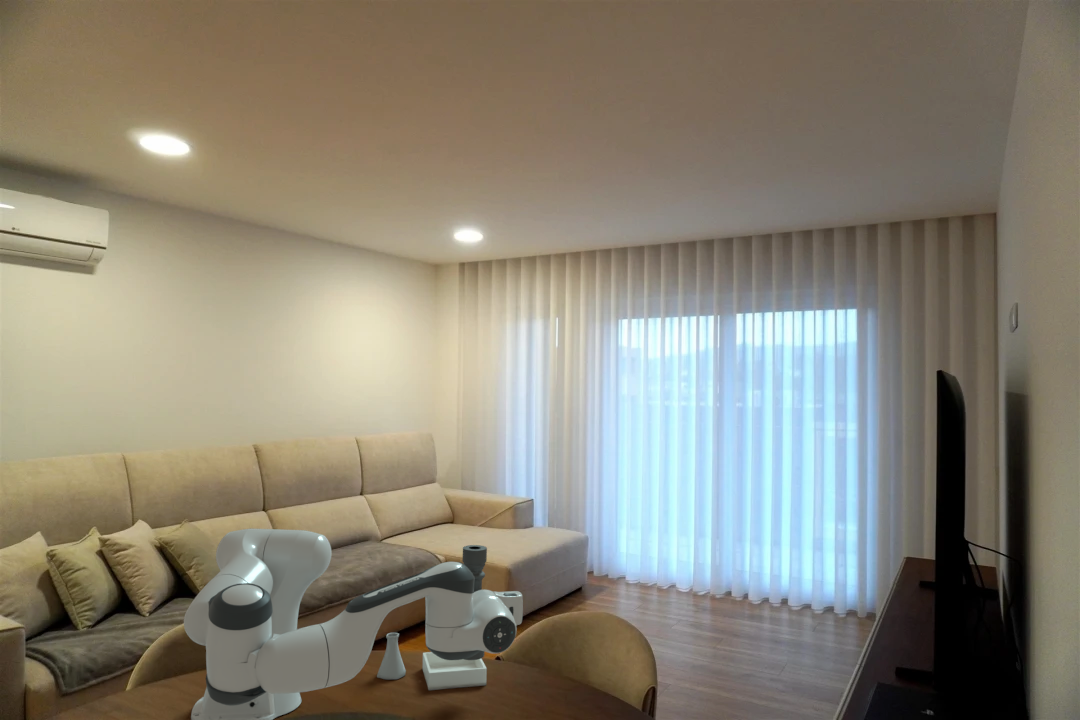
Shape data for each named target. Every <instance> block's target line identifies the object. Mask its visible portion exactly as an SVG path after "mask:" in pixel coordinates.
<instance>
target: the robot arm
mask: <svg viewBox="0 0 1080 720" xmlns="http://www.w3.org/2000/svg"><path fill="white" fill-rule="evenodd" d="M332 553H333V552H332V546H331V543H330V541H329V540H328V538H327V537H326V536H325V534H321V533H318V532H315V531H311V530H306V529H305V530H303V529H283V528H281V529H280V528H279V529H273V528H245V529H244V528H243V529H238V530H233V531H229V532H227V533H226V534H225V535H224V536H223V537H222V538H221V540H220V541H219V543H218V545H217V548H216V553H215V560H216V565H217V567H218V569H219V572H218V573H217V574H216V575H215V576H214V577H213V578H211V579H210V580H209V582H207V583H206V584H205V586H204V587H203V588H202V589H201V590H200V591H199V593H197V595H196V596H195V597H194V599H193V600H192V601H191V603H190V604H189V607H188V608H187V610H186V612H185V613H184V618H183V627H184V631H185V633H186V635H187V636H188V637H189V639H190V640H191V641H192V642H194V643H196V644H198V645H200V646H205V650H206V652H205V661H206V662H205V664H206V666H205V667H206V675H205V684H206V687H205V691H204V694H203V696H202V697H201V698H200V699H198V700H197V701H196V702H195V704H194V705H193V707H192V709H191V715H190V720H274V719H275V718H278V717H280V716H282V715H286V714H288V713H291V712H292V711H294V710H296V709H297V708H298V707H299V706H300V705H301V703H302V697H301V693H306V692H310V691H311V692H312V691H316V690H321V689H326V688H329V687H334V686H337V685H341V684H344V683H345V682H348V681H350V680H352V679H354V678H355V677H356V676H357V675H358V674H359V673H360V672H361V670H362V669H364V666H365V664H366V663H367V661H368V660H369V657H370V655H371V653H372V649H373V646H374V643H375V640H376V636H377V634H378V632H379V629H380V627H381V625H382V623H383V621H384V619H385V618H386V617H387V615H388V614H389V613H391V612H392V611H393V610H394V609H397V608H399V607H402V606H404V605H407V604H411V603H412V602H415V601H417V600H421V599H423V598H425V621H424V622H425V624H424V626H425V631H424V632H425V646H426V648H427V650H429V652H432V653H433V654H435V655H436V656H438V657H440V658H442V659H445V660H461V659H466V658H469V657H472V656H474V655H475V654H477V653H478V652H480V651H485V652H484V653H487V654H500V653H503V652H505V651H507V650H508V649H509V648H510V647H511V646H512V644H513V643H514V641H515V638H516V636H517V626H518V625H519V626H520V625H521V624H522V622H523V613H524V606H523V605H524V602H523V594H522V592H520V591H518V590H513V591H511V590H510V591H493V590H490V589H482V590H478V591H476V592H474V581H475V577H474V575H473V574H472V572H471V571H470V570H469V569H468V568H467V567H466V566H465V565H464V562H460V561H446V562H441V563H439V564H436V565H433V566H431V567H430V568H427V569H425V570H424V571H423V570H422V571H421V572H419V573H416V574H414V575H411V576H408V577H405V578H403V579H400V580H397V581H394V582H391V583H388V584H385V585H383V586H380V587H378V588H375V589H372V590H369V591H367V592H365V593H363V594H360V595H358V596H356V597H354V598H353V599H351V600H350V601H348V603H347V605H346V607H345V609H344V610H343V611H341V613H339V614H338V615H336V616H335V617H334V618H331V619H329V620H328V621H325V622H321V623H318V624H317V623H316V624H312V625H308V626H305V627H304V626H303V627H300V628H298V620H299V619H298V618H299V610H300V604H301V602H302V599H303V597H304V594H305V593H306V591H307V589H308V588H309V587H310V586H311V585H312V583H314V582H315V581H316V580H317V579H318V578H320V577H321V576H322V575H323V574H324V573H325V572H326V571H327V569H328V567H329V566H330V563H331V560H332V555H333V554H332Z"/></svg>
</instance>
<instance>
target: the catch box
mask: <svg viewBox="0 0 1080 720" xmlns="http://www.w3.org/2000/svg"><path fill="white" fill-rule="evenodd" d="M421 670H422V672H423V676H424V679H425V682H426V686H427V690H428V691H435V690H446V689H447V690H448V689H456V688H468V687H469V688H471V687H480V686H487V671H488V668H487V666H486V664H485V663H484V661H483V658H481V659H477V660H464V659H461V660H445V659H442V658H440V657H438V656H436V655H435V654H433V653H432V652H431V651H427V652H422V669H421Z"/></svg>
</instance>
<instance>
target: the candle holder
mask: <svg viewBox="0 0 1080 720" xmlns="http://www.w3.org/2000/svg"><path fill="white" fill-rule="evenodd" d="M487 554H488V548H487V546H485V545H479V544H471V545H470V544H469V545H465V546H462V560H461V561H462V563H463V564H464V565H465V566H466V567H467V568H468V569H469V570H470V571H471V572H472V574H473V575H474V577H475V581H474V592H476V591H478V590H483V587H482V585H483V580H484V578H485V577H486V573H485V571H483V570H484V568H485V566H486V563H487V557H488V555H487ZM485 653H486V652H485V651H480V652H478V653H477V654H475V655H474V656H472V657H469V658H466V659H464V660H477V659H483V658H484V657H485Z"/></svg>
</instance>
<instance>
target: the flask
mask: <svg viewBox="0 0 1080 720" xmlns="http://www.w3.org/2000/svg"><path fill="white" fill-rule="evenodd" d="M385 636H386V637H385V638H386V639H387V641H386V649H385V652H384V656H383V658H382V661H381V664H380V666H379V668H378V671H377V675H376V678H378V679H381V680H382V679H383V680H399V679H400V678H403V677H405V676H406V672H407V670H406V668H405V665H404V662H403V658H402V656H401V651H400V648H399V642H398V641H399V637H400V633H398V632H389V633H387V634H386V635H385Z"/></svg>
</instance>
